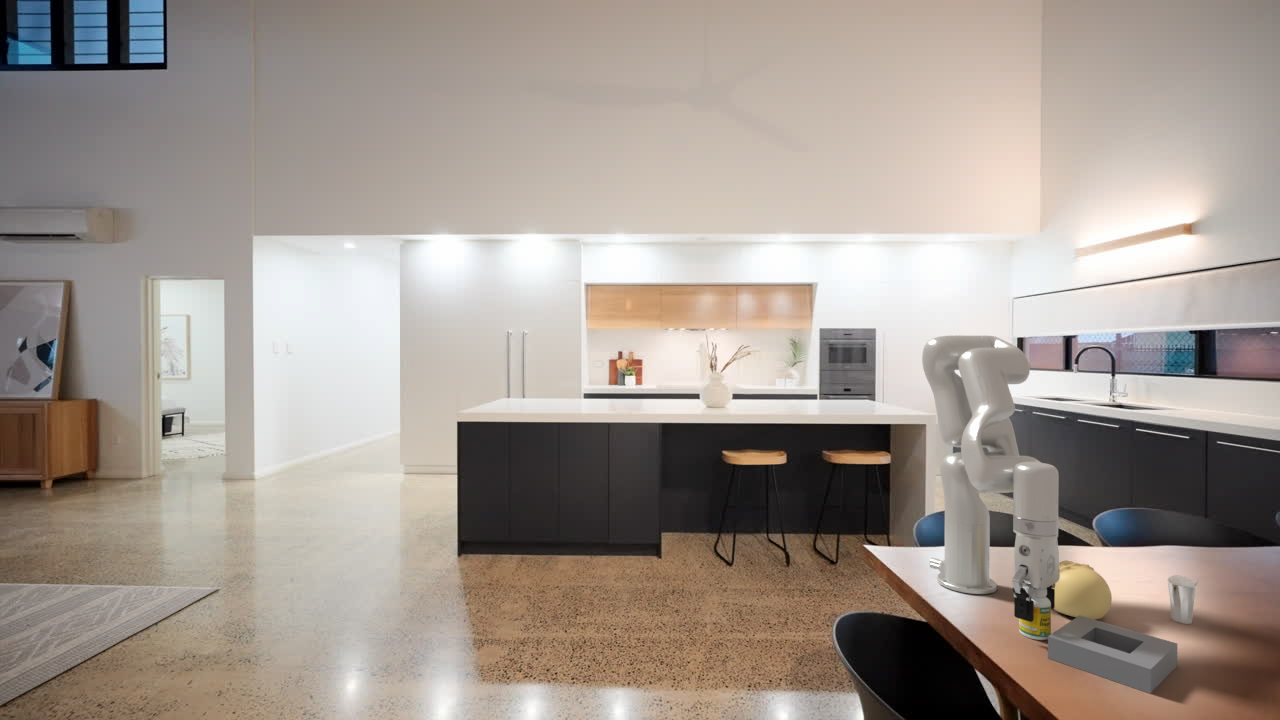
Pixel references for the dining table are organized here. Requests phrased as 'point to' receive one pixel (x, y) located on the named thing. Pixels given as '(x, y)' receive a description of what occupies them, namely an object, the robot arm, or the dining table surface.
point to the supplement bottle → (1038, 617)
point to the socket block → (1113, 653)
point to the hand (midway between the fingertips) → (1034, 612)
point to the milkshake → (1182, 598)
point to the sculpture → (1081, 591)
